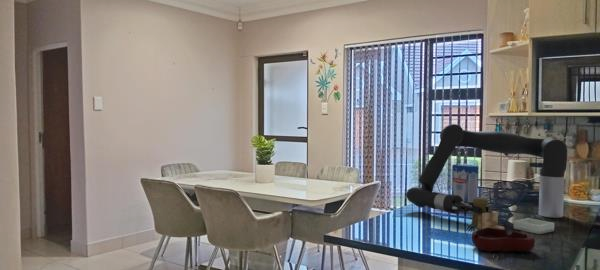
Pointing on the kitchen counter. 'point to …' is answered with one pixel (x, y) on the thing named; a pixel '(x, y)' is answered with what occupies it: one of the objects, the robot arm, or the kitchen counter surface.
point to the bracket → (489, 219)
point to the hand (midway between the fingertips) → (485, 210)
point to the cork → (482, 204)
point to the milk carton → (465, 181)
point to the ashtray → (502, 241)
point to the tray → (533, 225)
